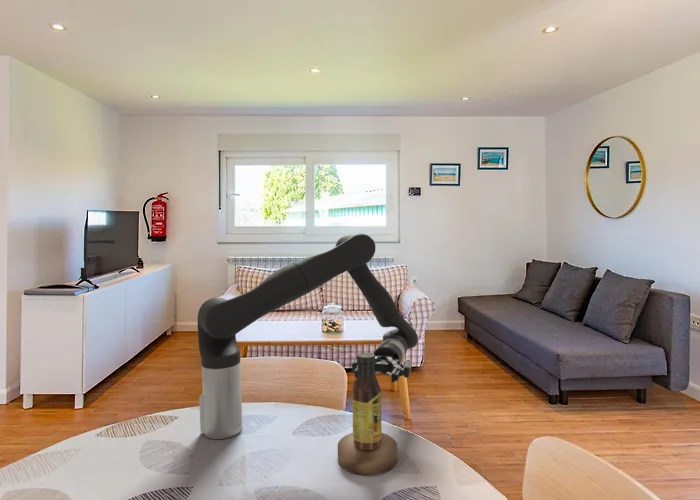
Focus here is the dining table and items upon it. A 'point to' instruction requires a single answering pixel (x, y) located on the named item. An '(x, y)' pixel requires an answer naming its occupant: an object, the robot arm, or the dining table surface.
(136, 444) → the dining table surface
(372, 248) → the robot arm
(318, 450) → the dining table surface
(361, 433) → the sauce bottle
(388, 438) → the tan flat disc
